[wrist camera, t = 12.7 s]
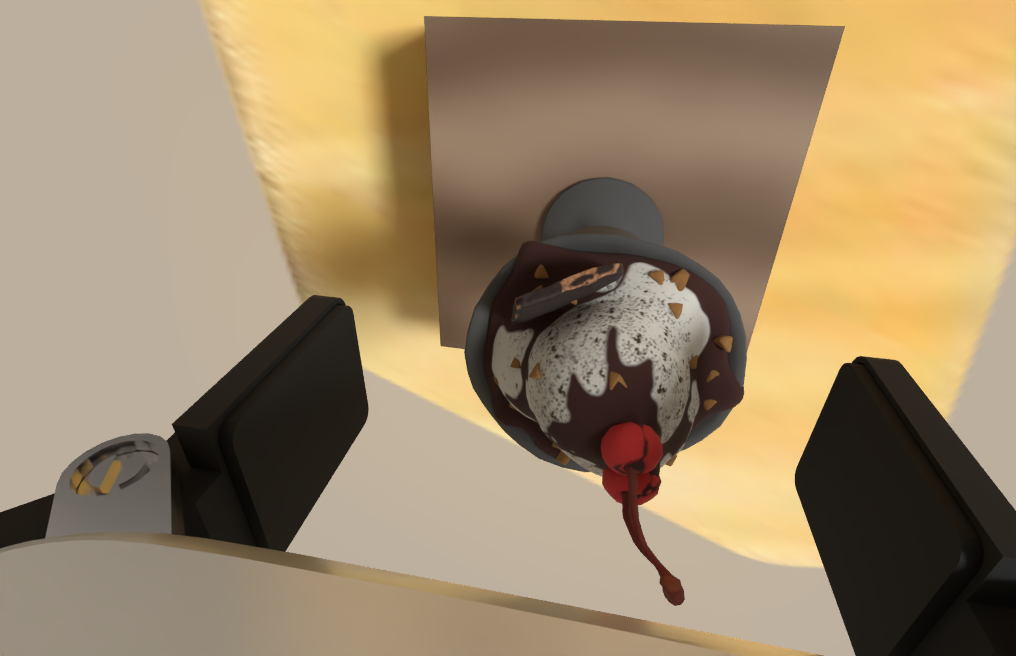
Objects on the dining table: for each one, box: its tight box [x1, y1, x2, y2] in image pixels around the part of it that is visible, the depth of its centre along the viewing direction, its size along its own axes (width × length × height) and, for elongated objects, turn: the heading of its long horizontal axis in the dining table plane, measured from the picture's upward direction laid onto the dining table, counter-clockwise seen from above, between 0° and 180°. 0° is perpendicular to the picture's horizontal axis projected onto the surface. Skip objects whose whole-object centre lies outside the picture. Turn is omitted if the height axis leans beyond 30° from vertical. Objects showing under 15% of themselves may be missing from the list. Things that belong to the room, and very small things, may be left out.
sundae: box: [464, 177, 747, 606], centre depth 15 cm, size 7×7×15 cm
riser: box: [424, 16, 845, 353], centre depth 23 cm, size 14×14×4 cm
